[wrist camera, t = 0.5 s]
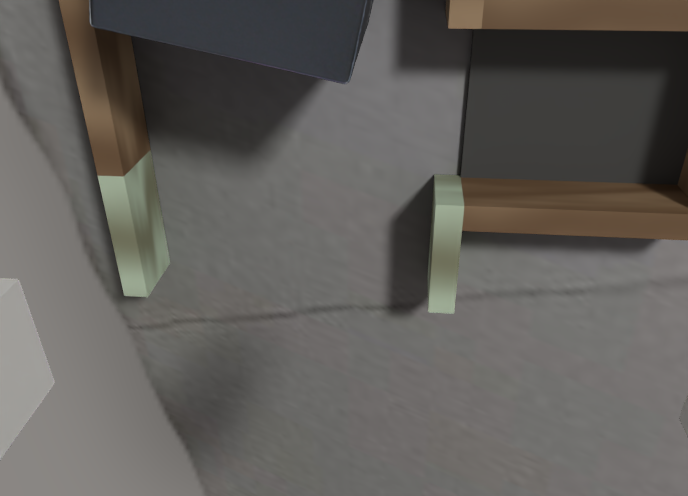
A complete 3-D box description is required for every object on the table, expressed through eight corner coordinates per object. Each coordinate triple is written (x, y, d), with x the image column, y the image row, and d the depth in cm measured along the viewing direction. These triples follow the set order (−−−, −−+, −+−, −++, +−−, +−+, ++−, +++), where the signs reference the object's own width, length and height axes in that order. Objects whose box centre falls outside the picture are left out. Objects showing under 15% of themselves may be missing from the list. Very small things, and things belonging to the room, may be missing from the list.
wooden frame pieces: (70, -143, 31) (26, -146, 27) (805, -154, 28) (859, -158, 24) (148, 261, 42) (124, 295, 39) (672, 287, 39) (696, 326, 36)
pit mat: (474, 12, 32) (475, 13, 32) (722, 15, 31) (724, 16, 31) (460, 175, 37) (460, 177, 37) (675, 182, 36) (677, 184, 35)
